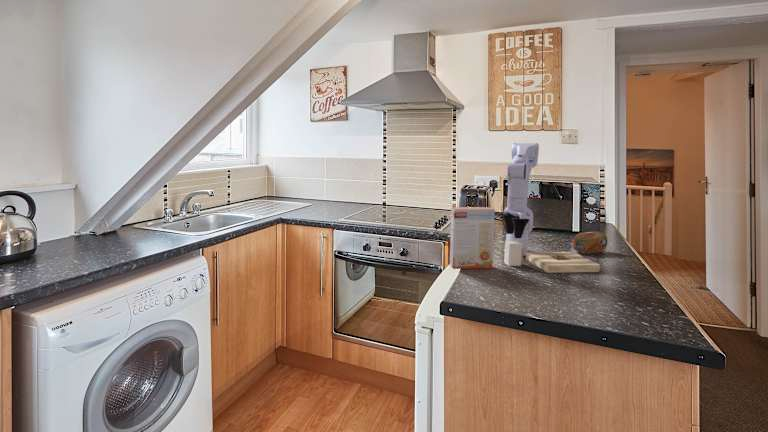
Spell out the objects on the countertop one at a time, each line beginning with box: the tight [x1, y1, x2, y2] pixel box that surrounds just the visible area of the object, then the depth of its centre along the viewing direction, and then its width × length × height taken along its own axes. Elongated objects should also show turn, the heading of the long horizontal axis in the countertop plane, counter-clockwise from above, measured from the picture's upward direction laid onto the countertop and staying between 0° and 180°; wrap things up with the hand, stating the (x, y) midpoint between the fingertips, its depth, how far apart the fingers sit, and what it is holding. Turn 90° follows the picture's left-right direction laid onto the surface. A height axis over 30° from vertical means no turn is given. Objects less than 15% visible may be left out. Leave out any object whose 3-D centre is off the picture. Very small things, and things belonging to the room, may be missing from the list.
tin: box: [572, 231, 608, 255], centre depth 169 cm, size 15×3×8 cm, turn 105°
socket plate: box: [525, 251, 601, 274], centre depth 150 cm, size 18×18×2 cm
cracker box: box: [449, 206, 496, 270], centre depth 145 cm, size 14×6×21 cm, turn 92°
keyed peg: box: [503, 240, 524, 267], centre depth 150 cm, size 4×6×8 cm
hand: (513, 235), depth 149 cm, fingers open, 7 cm apart
